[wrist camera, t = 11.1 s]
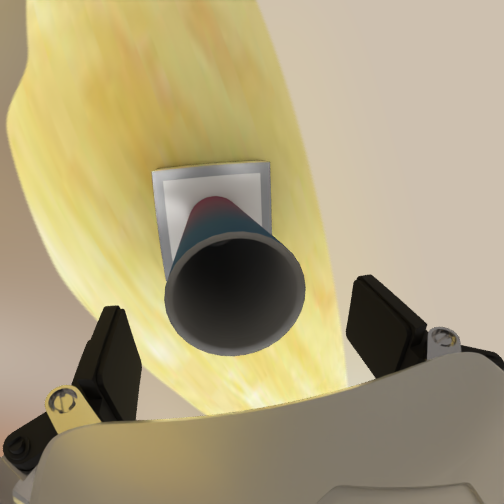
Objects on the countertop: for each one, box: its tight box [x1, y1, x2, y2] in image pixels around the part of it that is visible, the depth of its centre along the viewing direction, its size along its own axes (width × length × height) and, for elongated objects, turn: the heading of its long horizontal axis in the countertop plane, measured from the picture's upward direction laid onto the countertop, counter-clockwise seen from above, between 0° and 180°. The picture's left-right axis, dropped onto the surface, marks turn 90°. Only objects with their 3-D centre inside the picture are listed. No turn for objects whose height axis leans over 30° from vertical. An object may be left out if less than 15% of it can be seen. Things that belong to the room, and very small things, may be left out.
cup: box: [164, 196, 306, 356], centre depth 21 cm, size 7×7×15 cm
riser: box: [152, 160, 272, 281], centre depth 29 cm, size 11×11×4 cm
